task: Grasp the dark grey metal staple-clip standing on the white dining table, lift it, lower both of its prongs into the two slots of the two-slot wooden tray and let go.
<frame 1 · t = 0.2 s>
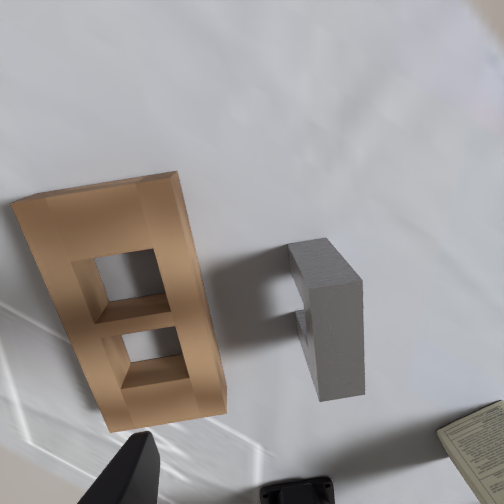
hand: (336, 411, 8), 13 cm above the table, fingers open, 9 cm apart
skincare box: (474, 425, 28), on the table
two-slot wooden tray: (145, 303, 22), on the table
clip: (311, 289, 22), on the table
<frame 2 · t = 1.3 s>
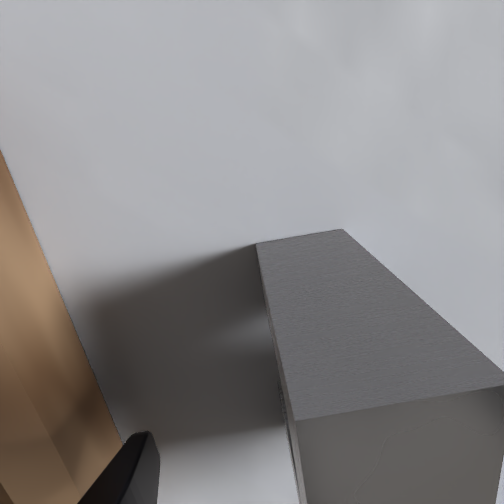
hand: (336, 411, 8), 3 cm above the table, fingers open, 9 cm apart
clip: (310, 338, 11), on the table
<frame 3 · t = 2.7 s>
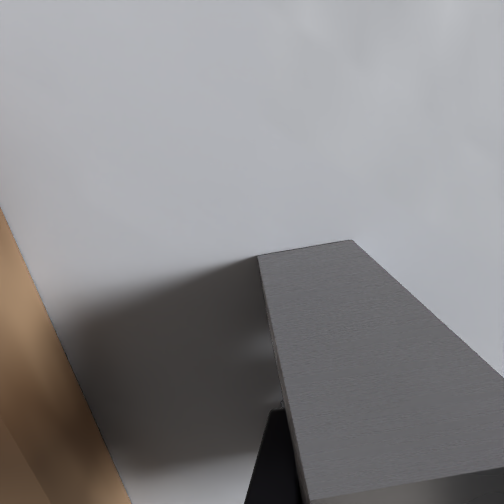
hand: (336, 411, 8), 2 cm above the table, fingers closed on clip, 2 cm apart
clip: (316, 356, 10), on the table, touching gripper
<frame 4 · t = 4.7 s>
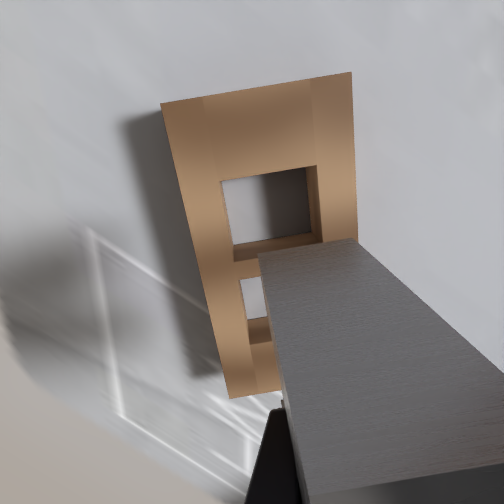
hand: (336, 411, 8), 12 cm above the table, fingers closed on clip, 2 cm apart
two-slot wooden tray: (273, 246, 19), on the table
clip: (316, 354, 10), point 10 cm above the table, touching gripper
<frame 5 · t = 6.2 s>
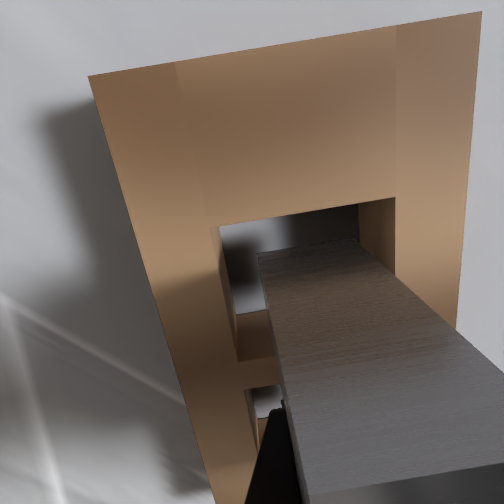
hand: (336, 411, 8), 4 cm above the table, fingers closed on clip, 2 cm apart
two-slot wooden tray: (300, 316, 12), on the table
clip: (316, 354, 10), point 2 cm above the table, touching gripper
when the fingers open (3 cm above the table, at t = 7.0 s): clip drops 1 cm, resting in two-slot wooden tray.
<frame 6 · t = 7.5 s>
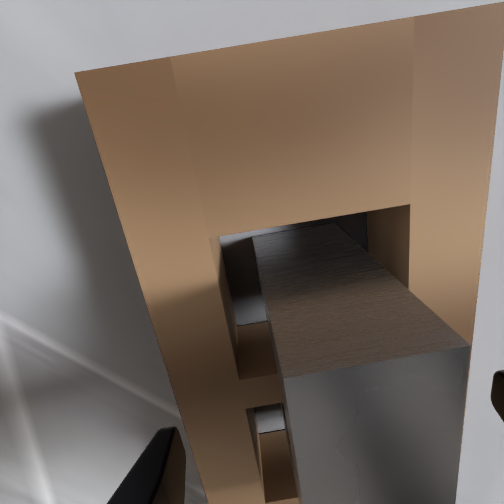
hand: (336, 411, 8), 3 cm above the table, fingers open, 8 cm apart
two-slot wooden tray: (304, 327, 11), on the table
clip: (304, 326, 11), resting in two-slot wooden tray
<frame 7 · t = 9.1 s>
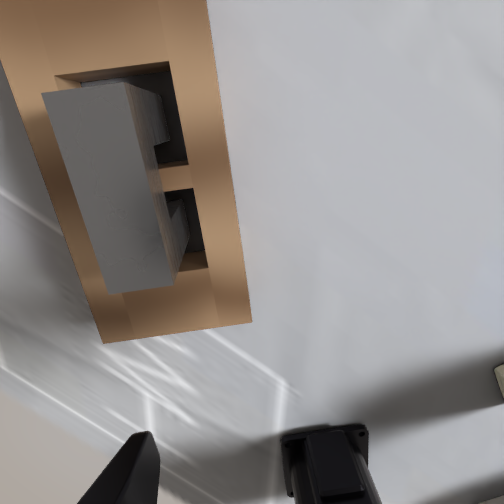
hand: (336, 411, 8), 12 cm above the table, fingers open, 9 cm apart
two-slot wooden tray: (152, 174, 17), on the table
clip: (152, 174, 17), resting in two-slot wooden tray
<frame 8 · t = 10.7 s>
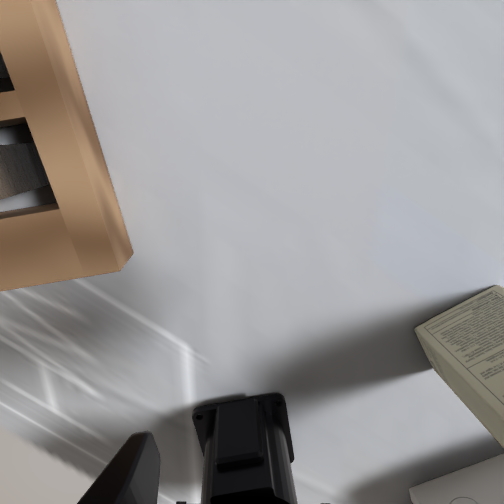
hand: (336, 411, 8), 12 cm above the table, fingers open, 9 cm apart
skincare box: (462, 324, 22), on the table
two-slot wooden tray: (4, 115, 16), on the table
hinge: (501, 458, 28), on the table
clip: (4, 114, 16), resting in two-slot wooden tray
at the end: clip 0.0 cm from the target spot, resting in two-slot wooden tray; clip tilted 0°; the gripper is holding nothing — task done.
